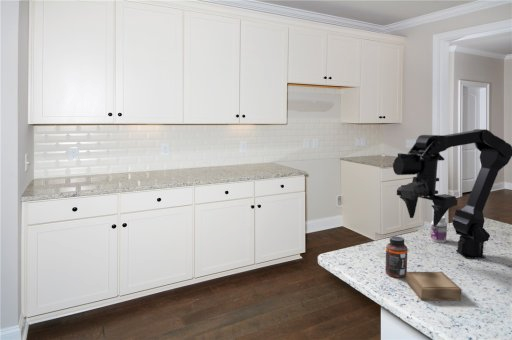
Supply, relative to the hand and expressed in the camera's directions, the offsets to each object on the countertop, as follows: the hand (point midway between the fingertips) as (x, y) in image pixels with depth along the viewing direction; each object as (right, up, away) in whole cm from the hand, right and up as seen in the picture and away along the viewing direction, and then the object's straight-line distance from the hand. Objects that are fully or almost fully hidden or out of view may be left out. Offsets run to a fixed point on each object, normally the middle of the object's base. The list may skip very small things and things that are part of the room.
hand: (422, 221), depth 108 cm
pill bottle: (+15, -10, +19) cm, 26 cm away
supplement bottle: (-12, -15, -7) cm, 21 cm away
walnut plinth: (-6, -16, -18) cm, 25 cm away
